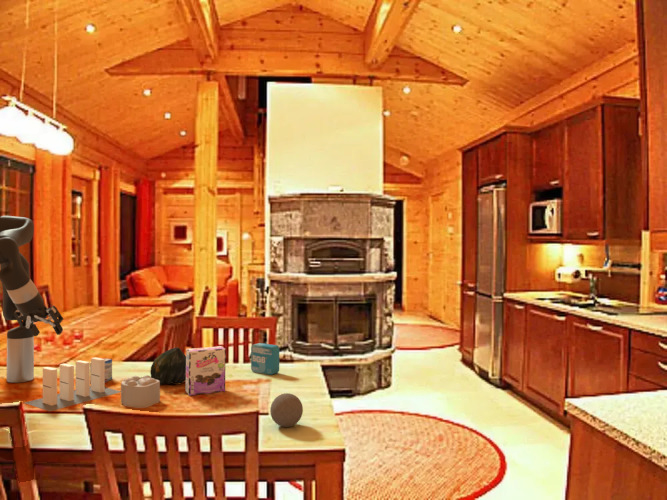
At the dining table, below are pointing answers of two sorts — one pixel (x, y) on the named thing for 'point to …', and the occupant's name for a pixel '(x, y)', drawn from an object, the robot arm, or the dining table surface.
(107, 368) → the medicine box
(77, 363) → the domino
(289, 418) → the decorative ball
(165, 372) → the squash
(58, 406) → the mat
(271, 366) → the data package
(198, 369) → the candy box
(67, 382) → the domino
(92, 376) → the domino
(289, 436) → the dining table surface
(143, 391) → the lumpy-topped squat cylinder
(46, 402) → the domino
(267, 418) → the dining table surface
